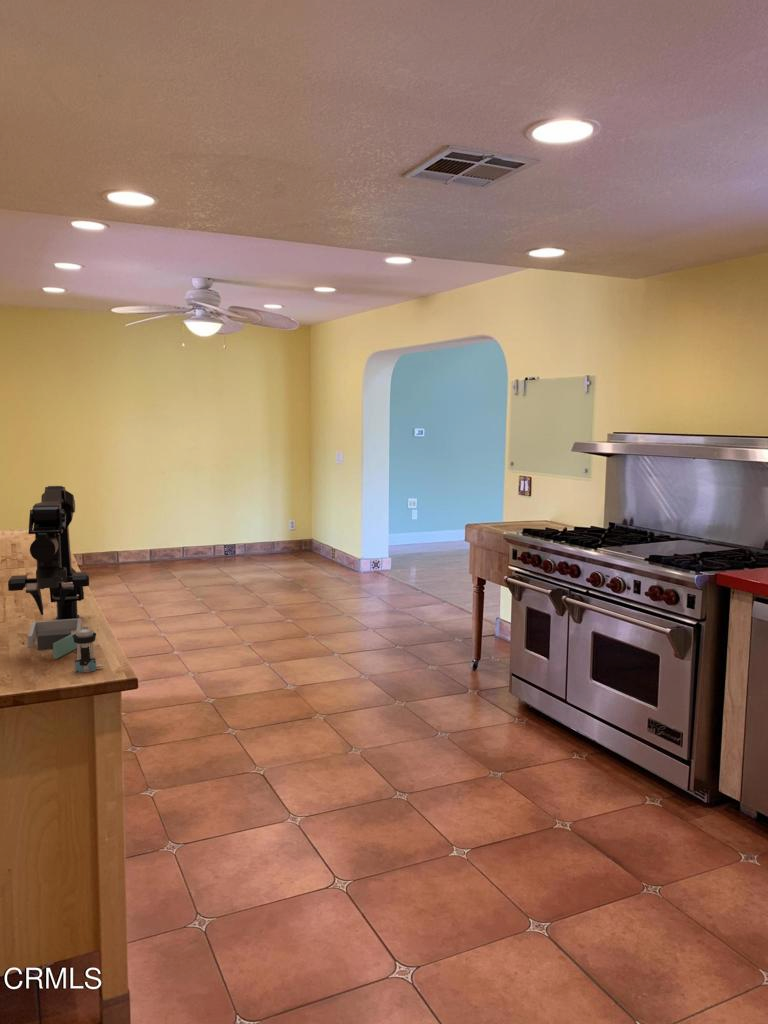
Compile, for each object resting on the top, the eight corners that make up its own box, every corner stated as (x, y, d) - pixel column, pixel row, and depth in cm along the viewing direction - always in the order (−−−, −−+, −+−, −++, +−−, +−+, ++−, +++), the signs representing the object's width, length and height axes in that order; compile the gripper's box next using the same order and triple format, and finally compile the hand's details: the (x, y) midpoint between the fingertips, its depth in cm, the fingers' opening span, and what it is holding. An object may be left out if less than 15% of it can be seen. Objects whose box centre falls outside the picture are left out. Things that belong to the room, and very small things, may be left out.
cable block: (39, 645, 206) (38, 631, 206) (71, 643, 209) (70, 628, 208) (37, 651, 202) (37, 636, 201) (70, 648, 204) (69, 633, 204)
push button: (102, 665, 190) (101, 626, 189) (104, 672, 185) (102, 632, 184) (73, 668, 188) (72, 629, 186) (74, 675, 183) (72, 635, 181)
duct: (32, 632, 218) (32, 616, 217) (89, 627, 223) (89, 612, 222) (27, 648, 202) (27, 632, 202) (88, 643, 208) (88, 627, 207)
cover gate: (53, 658, 194) (52, 643, 193) (82, 643, 207) (81, 629, 206) (56, 658, 194) (55, 643, 193) (85, 643, 207) (84, 629, 206)
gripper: (4, 561, 183) (7, 625, 185) (87, 557, 190) (89, 619, 191) (9, 553, 193) (12, 613, 195) (88, 550, 200) (90, 608, 202)
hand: (51, 614), depth 196 cm, fingers open, 4 cm apart
